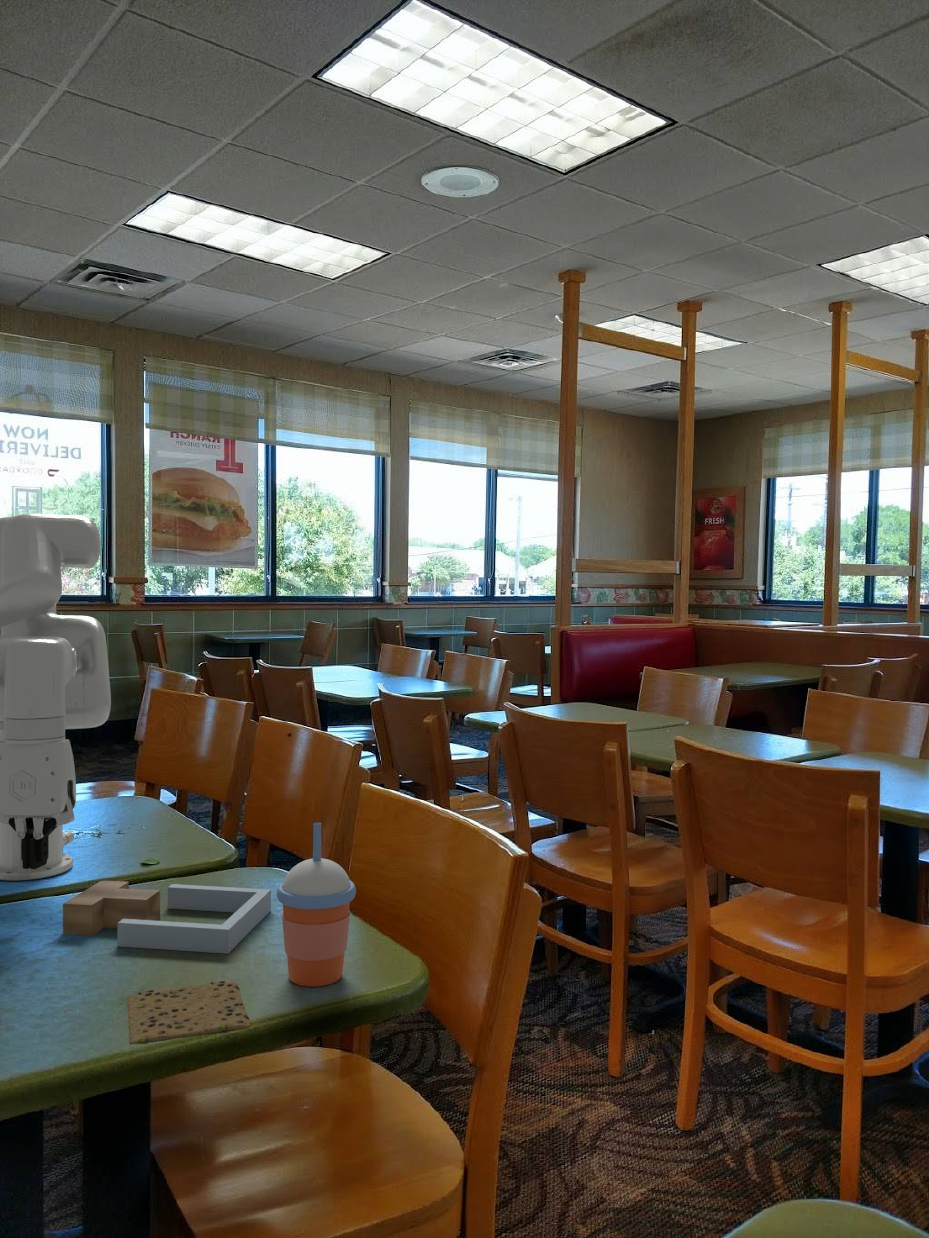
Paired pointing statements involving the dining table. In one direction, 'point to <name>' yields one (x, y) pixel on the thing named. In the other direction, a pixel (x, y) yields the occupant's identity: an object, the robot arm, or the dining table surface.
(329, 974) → the cup with straw
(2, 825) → the robot arm
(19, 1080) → the dining table surface
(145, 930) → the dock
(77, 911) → the t block
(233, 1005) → the cookie
